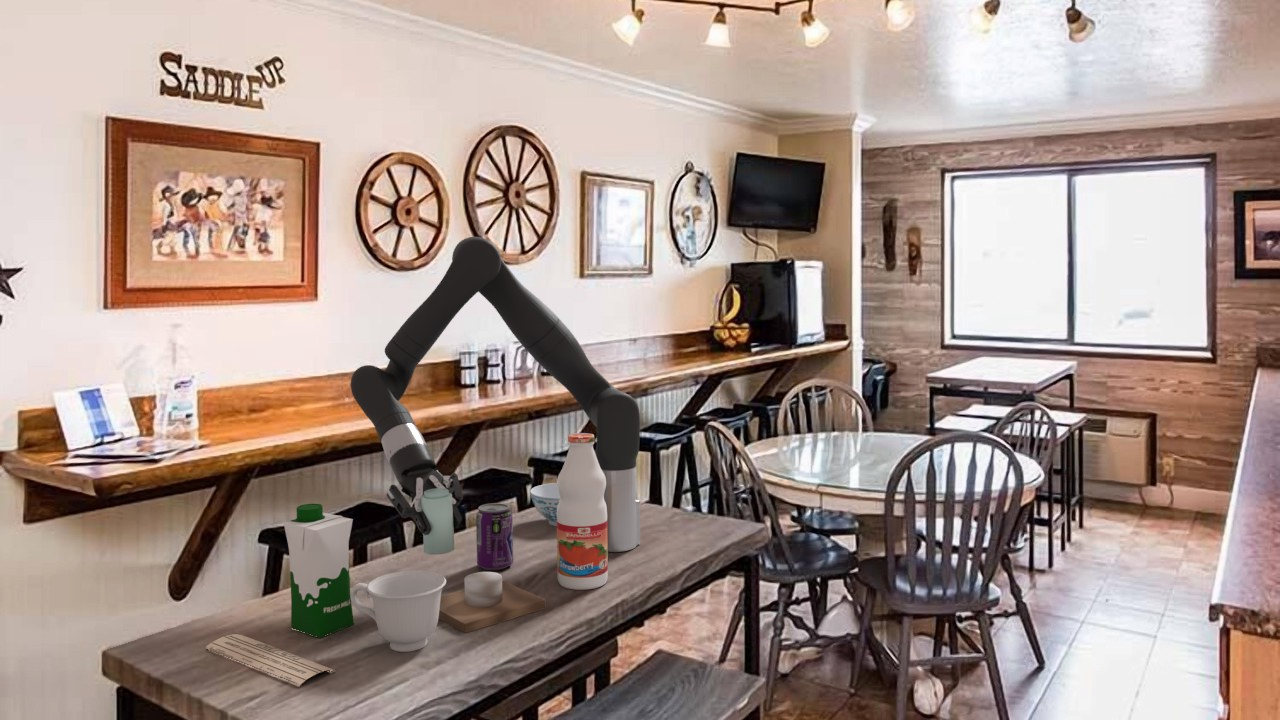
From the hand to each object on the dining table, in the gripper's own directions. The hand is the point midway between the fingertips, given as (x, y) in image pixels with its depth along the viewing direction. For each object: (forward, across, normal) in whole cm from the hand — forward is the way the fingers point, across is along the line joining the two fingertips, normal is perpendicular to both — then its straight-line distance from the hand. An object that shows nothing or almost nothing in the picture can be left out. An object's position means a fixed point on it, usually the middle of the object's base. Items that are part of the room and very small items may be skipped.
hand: (443, 528), depth 164 cm
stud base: (+16, +2, +2) cm, 16 cm away
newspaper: (+13, -33, +4) cm, 36 cm away
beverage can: (+4, +15, +15) cm, 22 cm away
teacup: (+19, -16, -1) cm, 25 cm away
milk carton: (+8, -23, +9) cm, 26 cm away
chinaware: (-7, +44, +26) cm, 52 cm away
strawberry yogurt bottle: (+17, +22, +2) cm, 28 cm away
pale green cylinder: (+2, 0, +4) cm, 5 cm away
